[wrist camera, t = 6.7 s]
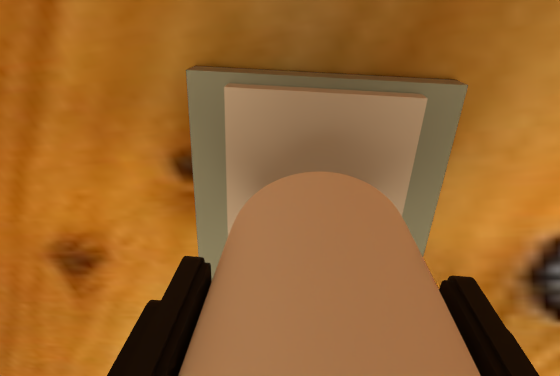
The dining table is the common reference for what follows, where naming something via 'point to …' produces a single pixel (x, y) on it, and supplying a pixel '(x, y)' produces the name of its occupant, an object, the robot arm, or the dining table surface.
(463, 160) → the dining table surface
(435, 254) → the dining table surface
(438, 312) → the can
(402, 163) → the press
